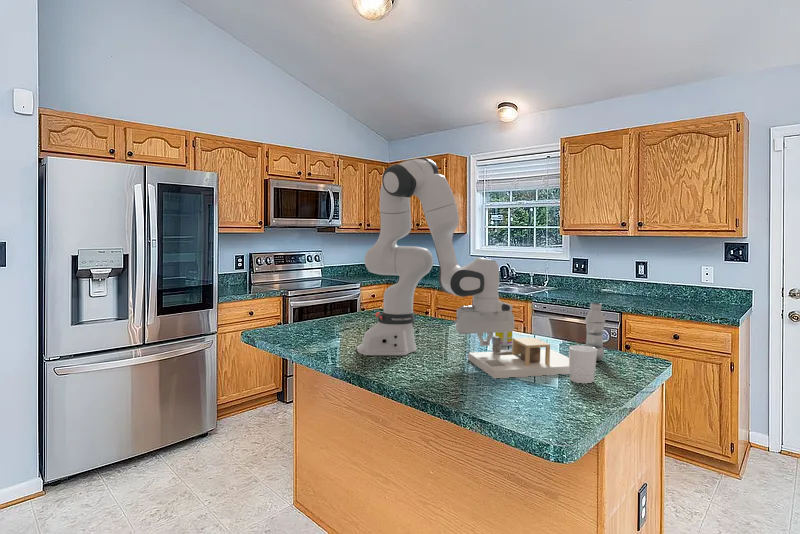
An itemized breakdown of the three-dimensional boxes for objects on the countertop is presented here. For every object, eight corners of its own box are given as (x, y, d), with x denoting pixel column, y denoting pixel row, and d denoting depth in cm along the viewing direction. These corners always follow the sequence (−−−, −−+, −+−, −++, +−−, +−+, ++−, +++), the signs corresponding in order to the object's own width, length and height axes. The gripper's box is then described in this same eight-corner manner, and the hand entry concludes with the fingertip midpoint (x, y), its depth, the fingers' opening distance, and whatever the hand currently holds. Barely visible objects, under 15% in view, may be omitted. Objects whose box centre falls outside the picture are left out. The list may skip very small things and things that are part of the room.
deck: (494, 378, 145) (495, 349, 144) (468, 359, 166) (469, 334, 165) (585, 372, 151) (586, 345, 151) (549, 355, 173) (549, 330, 172)
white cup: (563, 377, 147) (564, 345, 146) (588, 376, 148) (589, 345, 147) (574, 385, 139) (576, 351, 138) (600, 384, 140) (602, 351, 139)
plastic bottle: (603, 358, 169) (605, 302, 167) (604, 363, 162) (606, 305, 161) (583, 357, 171) (585, 301, 170) (584, 361, 165) (586, 304, 163)
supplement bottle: (511, 342, 192) (511, 311, 191) (513, 346, 186) (514, 314, 185) (494, 342, 193) (494, 310, 192) (495, 346, 186) (496, 313, 185)
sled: (511, 363, 152) (511, 346, 151) (492, 352, 166) (492, 336, 166) (540, 361, 154) (540, 344, 154) (518, 350, 168) (519, 335, 168)
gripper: (459, 307, 157) (459, 348, 158) (517, 306, 162) (516, 346, 163) (453, 304, 163) (452, 344, 164) (509, 303, 168) (508, 342, 169)
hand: (484, 345), depth 163 cm, fingers closed
